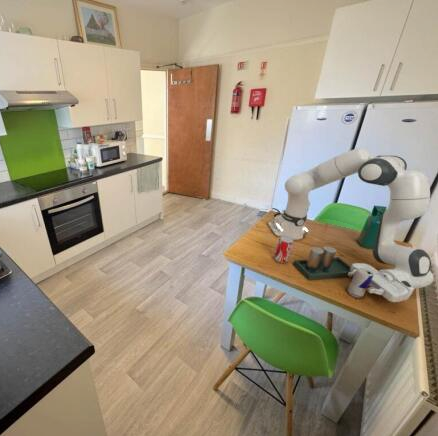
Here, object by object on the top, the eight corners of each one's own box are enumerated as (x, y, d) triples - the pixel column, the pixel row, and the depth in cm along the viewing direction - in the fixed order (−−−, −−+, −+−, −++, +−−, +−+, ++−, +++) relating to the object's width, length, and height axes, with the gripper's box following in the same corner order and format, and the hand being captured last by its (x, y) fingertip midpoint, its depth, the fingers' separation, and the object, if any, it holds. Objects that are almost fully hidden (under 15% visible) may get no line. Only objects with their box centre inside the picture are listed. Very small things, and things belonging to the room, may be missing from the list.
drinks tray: (293, 264, 122) (294, 260, 121) (337, 260, 123) (338, 257, 122) (308, 279, 112) (310, 275, 110) (356, 275, 113) (358, 271, 112)
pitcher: (380, 250, 130) (398, 214, 120) (361, 247, 133) (377, 212, 123) (373, 240, 138) (389, 206, 128) (355, 238, 141) (370, 204, 131)
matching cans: (302, 267, 119) (308, 247, 113) (323, 265, 119) (330, 245, 114) (308, 273, 114) (316, 253, 109) (330, 272, 115) (339, 251, 109)
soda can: (270, 255, 129) (276, 235, 123) (284, 255, 128) (290, 235, 122) (276, 264, 122) (282, 242, 116) (291, 263, 122) (297, 242, 116)
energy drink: (365, 298, 101) (377, 277, 95) (351, 297, 102) (362, 275, 96) (358, 289, 105) (369, 268, 100) (344, 288, 106) (354, 267, 101)
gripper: (370, 258, 109) (341, 261, 108) (418, 291, 91) (384, 294, 90) (364, 269, 112) (336, 271, 111) (410, 303, 94) (377, 306, 93)
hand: (358, 282), depth 100 cm, fingers open, 8 cm apart
